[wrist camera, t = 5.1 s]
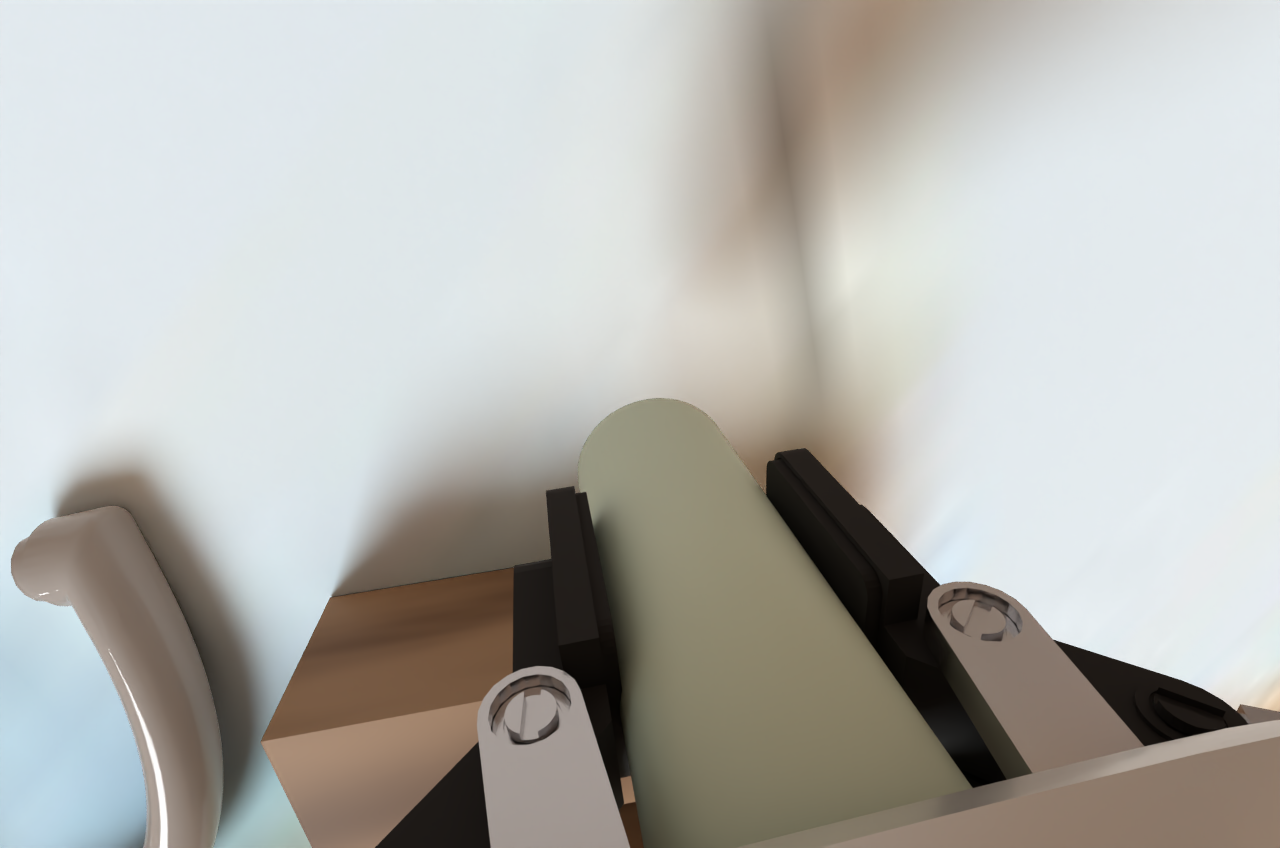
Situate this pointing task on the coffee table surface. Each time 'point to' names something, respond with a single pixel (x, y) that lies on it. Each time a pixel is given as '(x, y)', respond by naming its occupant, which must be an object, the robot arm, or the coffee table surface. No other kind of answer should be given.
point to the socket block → (393, 704)
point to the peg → (737, 650)
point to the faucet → (138, 661)
